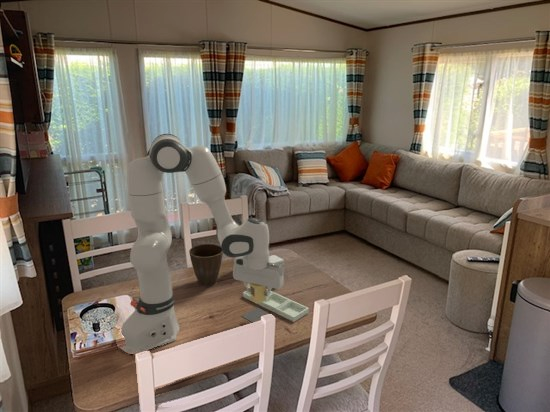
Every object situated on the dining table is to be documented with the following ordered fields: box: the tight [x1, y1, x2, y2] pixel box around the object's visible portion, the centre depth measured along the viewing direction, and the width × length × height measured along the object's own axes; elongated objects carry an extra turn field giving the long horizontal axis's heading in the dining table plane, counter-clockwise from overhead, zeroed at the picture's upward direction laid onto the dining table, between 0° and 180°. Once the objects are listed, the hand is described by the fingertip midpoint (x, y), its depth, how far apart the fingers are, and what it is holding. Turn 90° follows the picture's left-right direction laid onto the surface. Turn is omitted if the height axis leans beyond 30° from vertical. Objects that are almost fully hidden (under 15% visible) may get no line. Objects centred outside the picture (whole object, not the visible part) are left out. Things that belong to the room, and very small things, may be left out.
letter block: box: [249, 283, 267, 305], centre depth 155 cm, size 5×4×7 cm
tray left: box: [242, 288, 274, 305], centre depth 172 cm, size 9×9×2 cm
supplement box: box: [269, 254, 285, 281], centre depth 182 cm, size 7×7×13 cm
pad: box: [241, 307, 271, 323], centre depth 158 cm, size 9×9×1 cm
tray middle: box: [258, 291, 291, 314], centre depth 166 cm, size 9×9×2 cm
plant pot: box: [189, 243, 224, 287], centre depth 183 cm, size 15×15×16 cm
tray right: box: [275, 299, 310, 323], centre depth 160 cm, size 9×9×2 cm
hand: (258, 293), depth 155 cm, fingers closed on letter block, 6 cm apart
